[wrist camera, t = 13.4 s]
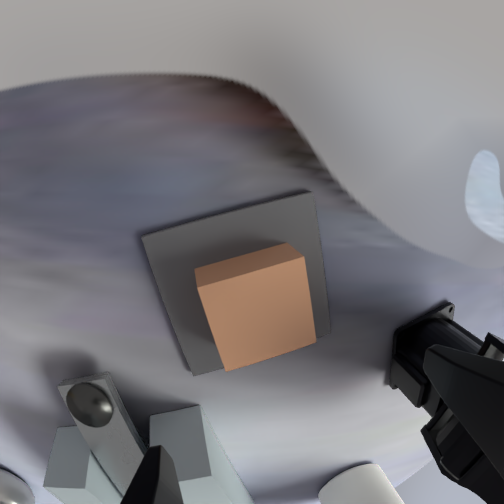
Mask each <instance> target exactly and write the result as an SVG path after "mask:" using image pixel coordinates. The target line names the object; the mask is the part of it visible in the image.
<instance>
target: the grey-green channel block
mask: <svg viewBox="0 0 504 504" xmlns="http://www.w3.org/2000/svg"><path fill="white" fill-rule="evenodd" d="M156 445H162V446H163V447H164V448H165V450H166V451H167V452H168V453H169V455H170V456H171V457H172V459H173V461H174V465H175V469H176V473H177V478H178V482H179V486H180V490H181V494H182V498H183V503H184V504H255V503H254V501H253V499H252V497H251V496H250V494H249V493H248V491H247V489H246V488H245V486H244V484H243V483H242V481H241V479H240V478H239V476H238V474H237V473H236V471H235V469H234V468H233V466H232V464H231V462H230V461H229V459H228V457H227V455H226V454H225V452H224V450H223V448H222V446H221V444H220V443H219V441H218V439H217V437H216V435H215V433H214V431H213V429H212V428H211V426H210V424H209V422H208V420H207V418H206V416H205V414H204V412H203V410H202V408H201V406H200V405H198V406H193V407H189V408H185V409H180V410H176V411H171V412H166V413H161V414H156V415H151V416H150V446H156ZM43 487H44V488H45V489H46V490H47V491H49V492H50V493H51V494H52V495H54V496H55V497H56V498H57V499H59V500H60V501H61V502H63V503H64V504H120V502H121V500H122V498H123V497H124V496H123V495H122V494H121V492H120V491H119V490H118V488H117V487H116V486H115V484H114V483H113V482H112V480H111V479H110V477H109V476H108V475H107V473H106V472H105V470H104V469H103V467H102V466H101V464H100V463H99V461H98V460H97V458H96V457H95V455H94V453H93V452H92V450H91V449H90V447H89V445H88V444H87V442H86V440H85V439H84V437H83V435H82V434H81V432H80V430H79V428H78V427H77V426H71V427H58V429H57V432H56V436H55V439H54V443H53V447H52V450H51V454H50V458H49V462H48V466H47V471H46V475H45V479H44V484H43Z"/></svg>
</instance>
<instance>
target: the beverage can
mask: <svg viewBox="0 0 504 504" xmlns="http://www.w3.org/2000/svg"><path fill="white" fill-rule="evenodd" d="M318 497H319V500H320V502H321V504H404V502H403V501H402V499H401V498H400V496H399V495H398V493H397V492H396V490H395V489H394V487H393V486H392V484H391V483H390V481H389V480H388V478H387V477H386V475H385V474H384V472H383V471H382V469H381V468H380V466H379V465H377V464H365V465H360V466H356V467H353V468H350V469H348V470H346V471H344V472H342V473H340V474H339V475H337V476H335V477H334V478H333V479H331V480H330V481H329V482H328V483H327V484H326V485H325V486H324V487H323V488H322V489H321V490H320V492H319V494H318Z"/></svg>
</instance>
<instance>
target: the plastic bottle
mask: <svg viewBox="0 0 504 504" xmlns="http://www.w3.org/2000/svg"><path fill="white" fill-rule="evenodd" d="M0 504H35V496H34V494H33V492H32V490H31V488H30V487H29V486H28V485H27V484H26V483H25V482H24V481H22V480H21V479H19V478H18V477H16V476H15V475H13V474H11V473H9V472H7V471H5V470H3V469H0Z"/></svg>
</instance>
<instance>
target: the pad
mask: <svg viewBox="0 0 504 504" xmlns="http://www.w3.org/2000/svg"><path fill="white" fill-rule="evenodd" d="M141 238H142V241H143V244H144V247H145V250H146V254H147V257H148V260H149V263H150V266H151V269H152V272H153V274H154V277H155V280H156V283H157V286H158V289H159V291H160V294H161V297H162V300H163V302H164V305H165V308H166V310H167V313H168V316H169V318H170V321H171V323H172V326H173V328H174V331H175V334H176V336H177V338H178V341H179V343H180V346H181V348H182V351H183V353H184V355H185V358H186V360H187V362H188V365H189V367H190V369H191V372H192V374H193V376H196V375H200V374H204V373H208V372H212V371H215V370H219V369H222V368H224V365H223V363H222V360H221V357H220V354H219V351H218V349H217V346H216V343H215V340H214V337H213V334H212V331H211V328H210V325H209V322H208V319H207V316H206V313H205V310H204V307H203V304H202V301H201V298H200V295H199V292H198V289H197V283H196V277H195V270H194V269H195V268H199V267H202V266H206V265H210V264H213V263H217V262H220V261H224V260H227V259H231V258H234V257H238V256H241V255H245V254H248V253H252V252H255V251H259V250H262V249H266V248H269V247H273V246H276V245H280V244H284V243H288V244H290V245H291V246H292V247H293V248H294V249H296V250H297V251H298V252H299V253H300V254H302V255H303V256H304V259H305V265H306V271H307V278H308V285H309V291H310V298H311V305H312V312H313V320H314V327H315V335H316V338H319V337H322V336H324V335H327V334H330V333H331V328H330V317H329V307H328V298H327V289H326V280H325V272H324V264H323V256H322V249H321V241H320V234H319V228H318V221H317V214H316V208H315V202H314V196H313V192H311V191H309V192H305V193H301V194H296V195H292V196H288V197H284V198H280V199H275V200H271V201H267V202H263V203H259V204H255V205H251V206H247V207H243V208H239V209H236V210H232V211H228V212H224V213H220V214H217V215H213V216H209V217H205V218H202V219H198V220H194V221H191V222H187V223H183V224H180V225H176V226H173V227H169V228H166V229H162V230H159V231H155V232H152V233H149V234H145V235H142V237H141Z"/></svg>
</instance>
